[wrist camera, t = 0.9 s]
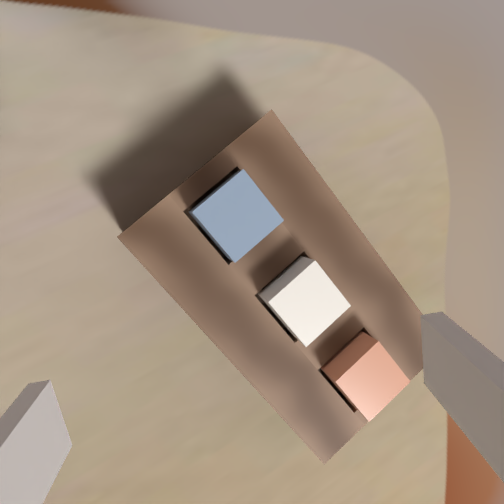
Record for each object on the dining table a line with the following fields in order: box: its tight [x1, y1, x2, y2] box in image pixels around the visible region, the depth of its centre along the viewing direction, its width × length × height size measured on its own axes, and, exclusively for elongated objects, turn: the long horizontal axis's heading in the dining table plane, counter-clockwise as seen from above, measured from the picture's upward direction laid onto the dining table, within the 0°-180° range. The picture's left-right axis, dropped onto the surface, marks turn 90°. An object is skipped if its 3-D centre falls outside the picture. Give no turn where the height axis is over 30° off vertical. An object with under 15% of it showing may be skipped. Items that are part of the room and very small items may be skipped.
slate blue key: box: [189, 169, 284, 263], centre depth 29 cm, size 4×4×3 cm
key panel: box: [117, 110, 423, 464], centre depth 34 cm, size 14×24×6 cm, turn 39°
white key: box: [258, 256, 351, 347], centre depth 31 cm, size 4×4×3 cm
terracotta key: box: [321, 331, 410, 422], centre depth 32 cm, size 4×4×3 cm
